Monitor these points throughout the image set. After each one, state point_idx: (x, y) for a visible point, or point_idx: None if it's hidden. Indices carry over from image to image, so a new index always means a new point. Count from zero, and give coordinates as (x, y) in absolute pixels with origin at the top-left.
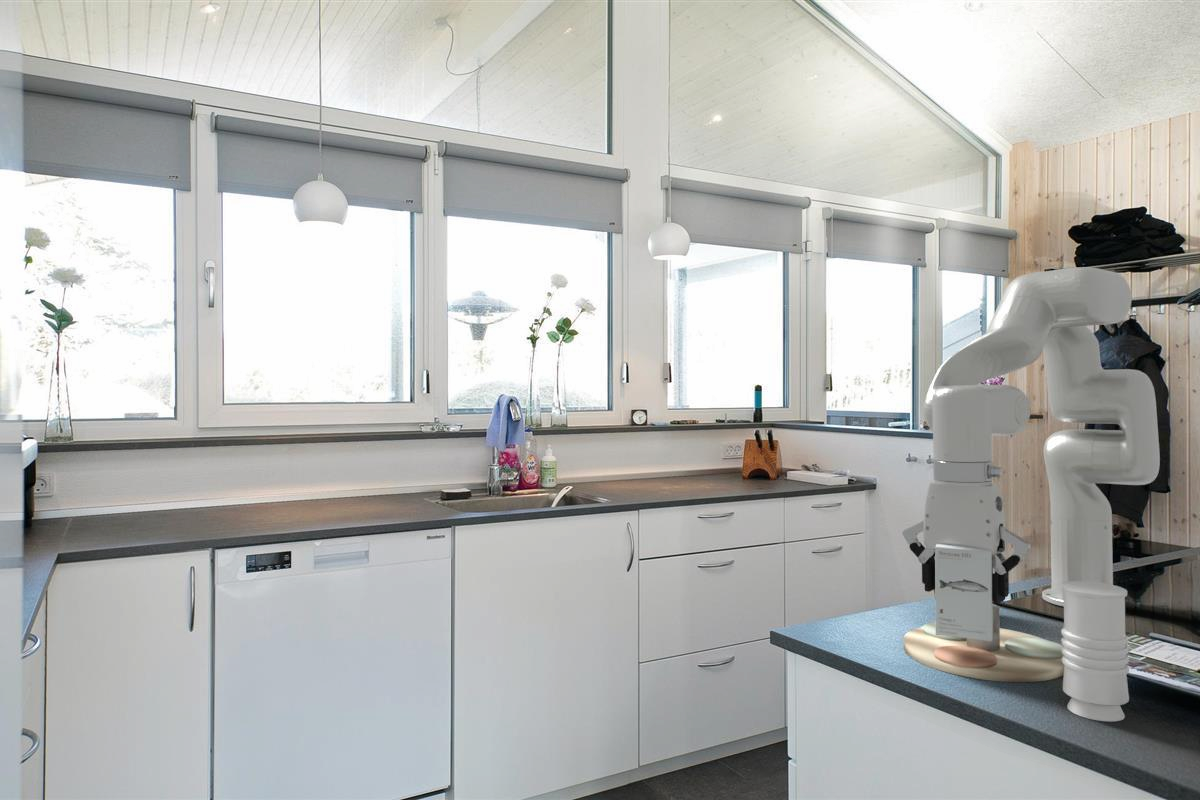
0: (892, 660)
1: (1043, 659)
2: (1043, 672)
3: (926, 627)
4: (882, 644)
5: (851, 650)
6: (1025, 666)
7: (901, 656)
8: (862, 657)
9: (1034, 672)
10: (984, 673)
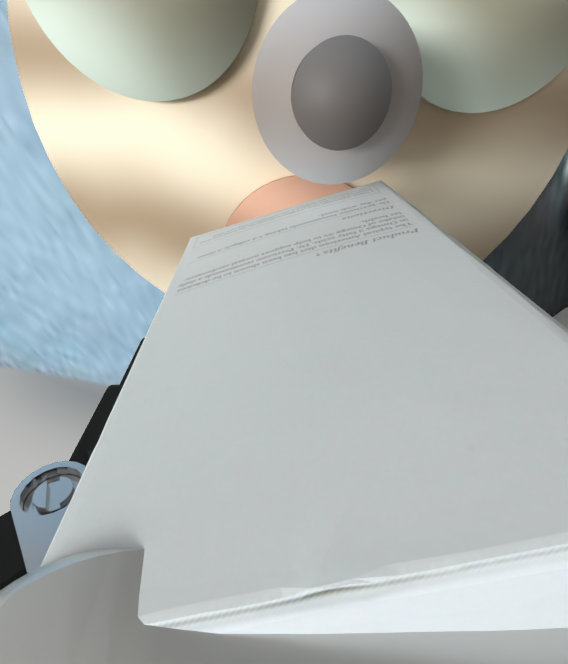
0: (139, 324)
1: (515, 106)
2: (506, 234)
3: (48, 12)
4: (27, 216)
5: (18, 322)
6: (461, 222)
7: (136, 282)
8: (76, 350)
9: (484, 257)
10: None
